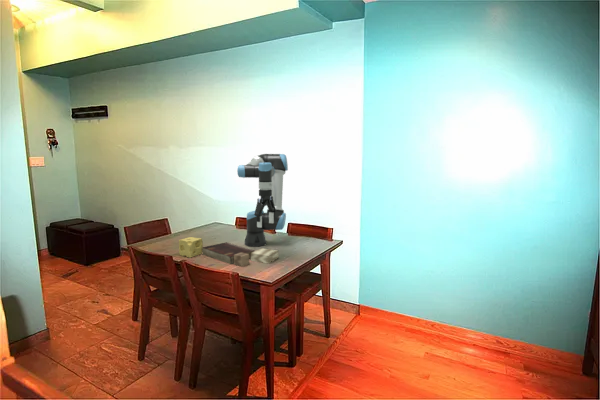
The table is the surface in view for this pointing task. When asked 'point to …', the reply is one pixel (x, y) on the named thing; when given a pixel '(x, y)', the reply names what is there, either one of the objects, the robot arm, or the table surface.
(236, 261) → the walnut cube
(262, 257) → the birch block
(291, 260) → the table surface
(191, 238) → the cheese
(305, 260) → the table surface
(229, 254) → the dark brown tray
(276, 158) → the robot arm
